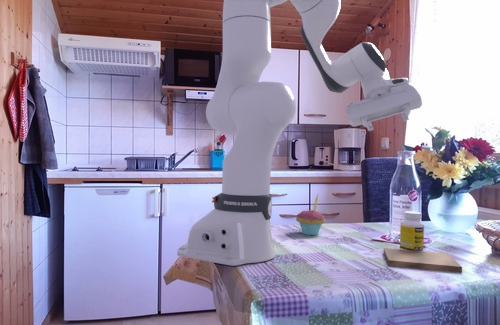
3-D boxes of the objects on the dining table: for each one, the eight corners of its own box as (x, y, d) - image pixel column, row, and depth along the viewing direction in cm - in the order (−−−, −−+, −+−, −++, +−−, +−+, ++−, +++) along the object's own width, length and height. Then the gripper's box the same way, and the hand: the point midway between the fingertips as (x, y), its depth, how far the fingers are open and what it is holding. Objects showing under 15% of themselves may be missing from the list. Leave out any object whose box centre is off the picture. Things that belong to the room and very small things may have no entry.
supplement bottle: (416, 255, 85) (417, 214, 85) (395, 250, 89) (396, 211, 89) (427, 252, 88) (428, 212, 88) (407, 247, 92) (408, 210, 92)
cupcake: (322, 231, 111) (323, 193, 111) (326, 237, 103) (327, 196, 103) (295, 230, 112) (296, 192, 112) (296, 236, 104) (297, 195, 103)
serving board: (388, 265, 76) (388, 260, 76) (383, 252, 86) (383, 248, 86) (461, 272, 72) (462, 266, 72) (447, 258, 82) (447, 253, 82)
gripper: (342, 98, 109) (347, 126, 100) (412, 75, 102) (425, 103, 92) (348, 113, 113) (353, 142, 104) (416, 92, 106) (428, 121, 96)
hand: (387, 123), depth 98 cm, fingers open, 8 cm apart
